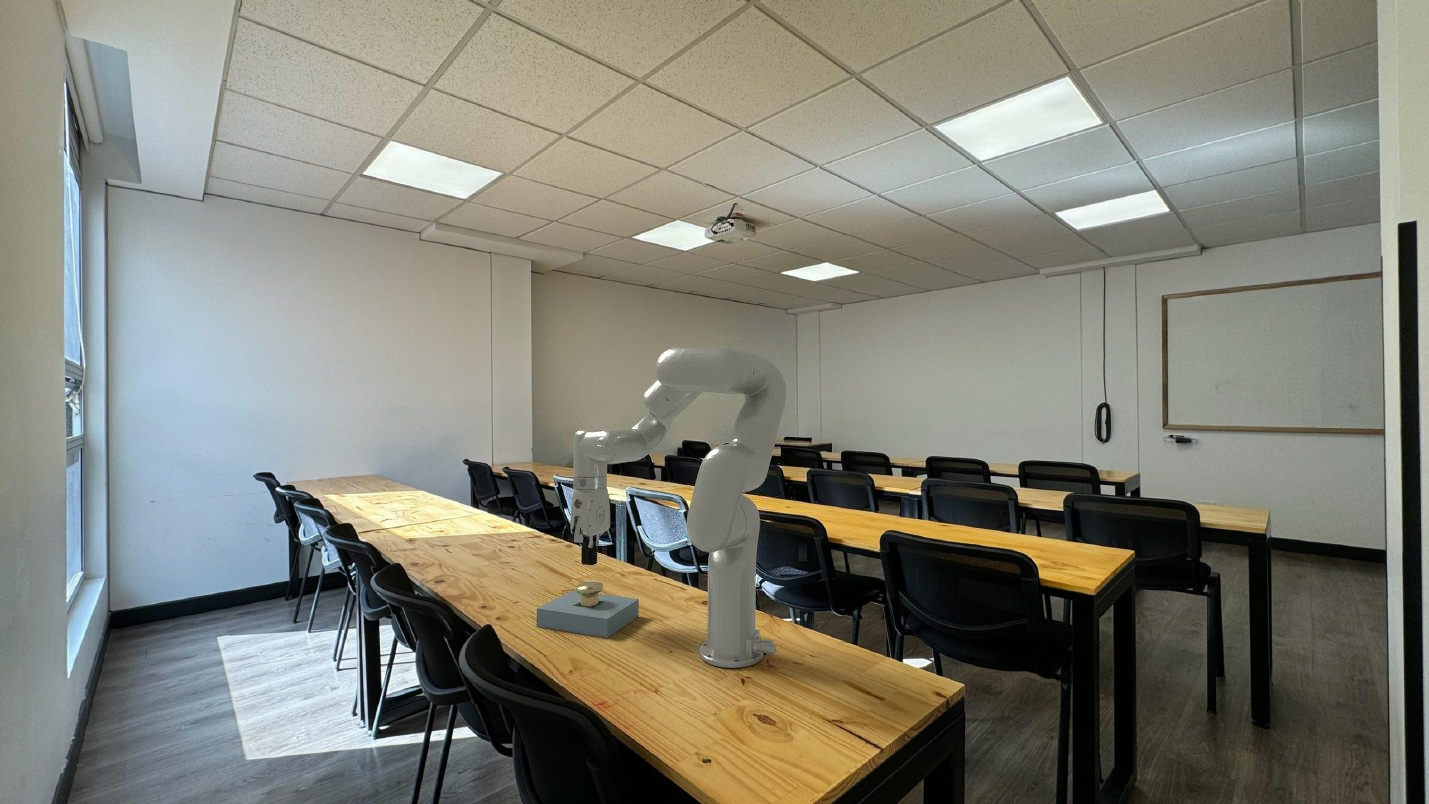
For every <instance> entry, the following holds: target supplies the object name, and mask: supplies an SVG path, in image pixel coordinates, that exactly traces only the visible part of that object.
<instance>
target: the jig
mask: <svg viewBox="0 0 1429 804" xmlns="http://www.w3.org/2000/svg"><path fill="white" fill-rule="evenodd" d="M639 603H640V599H639V598H633V597H628V596H621V595H611V594H604V593H599V605H598V606H596V607H595V608H593V609H592V608H585V607H581V594H580V593H577V592H576V589H575V590H573V589H572V590H570V591H569V592H567V593H564V594H563V595H561V596H559V597H556V598H555V599H552V600H551V601H548V602H547V603H545V604H543V605H540V606H539V607H537V608H536V627H538V628H544V629H550V630H555V631H562V632H567V633H573V634H581V635H585V636H592V637H597V638H598V637H599V638H603V639H604V638H605V639H608V638H609V637H611V636H612V635H614V634H615V633H617V632H618V631H620V630H621V629H622V628H624V627H625V626H628V624H630V623H631V622H633V621H634V620H635V619H637V618H638V617H639V616H640V615H639V613H640V611H639V610H640V609H639Z"/></svg>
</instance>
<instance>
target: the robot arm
mask: <svg viewBox="0 0 1429 804" xmlns="http://www.w3.org/2000/svg"><path fill="white" fill-rule="evenodd" d="M654 371H655V377H656V379H657V380H655V381H654V383H652V384H651V385H650V386H649V387H648V388H647V389H646V390H645V391H644V393H643V397H642V401H643V404H644V406H645V408H646V410H647V413H646V414H645V415H644V416H643V417H642V419H640V421H638V422H637V423H636V424H635V425H634V426H632V427H631V428H618V429H606V430H603V429H579V430H577V431H576V432H575V433H574V434H573V435H574V436H573V478H572V481H573V482H572V488H573V489H572V490H573V494H572V498H571V506H570V520H569V521H570V525H569V526H570V533H571V535H573V542H574V543H579V547H580V548H581V554H580V555H581V559H580V561H581V562H580V563H581V564H582V565H585V566H594V565H596V564H598V546H599V544H600V537H601V536H602V535H604V534H605V532H607V531H608V530H609V529H610V528H611V505H610V496H609V492H608V491H609V490H608V485H607V483H608V465H615V464H616V465H617V464H621V463H628V462H629V463H630V462H637V461H640V460H641V459H643V458H645V457H646V456H648V455H649V454H650V453H652V452H653V450H654V449H656V448H657V447H658V446H659V445H660V444H661V443H662V442H663V441H664V440H665V439H666V437H667V435H668V433H669V431H670V430H671V428H672V424H673V421H674V420H675V419H676V418H677V417H678V416H679V415H680V414H681V413H683V411H685V409H686V408H687V407H689V406H690V405H691V403H693V402H694V401H695V400H696V399H698V398H699V397H700V396H701V394H703V393H715V394H716V393H717V394H728V395H729V394H730V395H743V396H744V402H743V404H742V406H741V407H740V409H739V411H738V413H737V416H736V418H735V422H734V427H733V431H732V434H731V438H730V440H729V443H728V444H726V443H725V444H720V445H717V446H716V447H713V448H712V449H711V450H709V452H708V453H707V454H706V455H705V457H704V458H703V460H702V462H701V464H700V466H699V470H698V473H697V477H696V480H695V484H694V488H693V493H692V497H691V500H690V504H689V507H688V511H687V517H686V531H687V535H688V536H687V537H688V539H689V541H690V542H691V543H692V545H693V546H694V547H695V548H696V549H698V550H699V551H702V552H705V553H709V555H708V563H707V630H706V631H707V639H706V641H705V642H703V643H702V644H701V645H700V647H699V653H698V654H699V657H700V658H701V660H703V661H704V662H705V663H708V664H709V665H711V666H715V667H720V668H725V669H726V668H728V669H735V668H737V669H739V668H745V667H751V666H753V665H755V664H757V663H759V662H760V661H761V660H762V659H763V658H764V654H766V655H772V656H775V655H776V653H777V644H775V643H774V639H767V638H765V639H764V638H763V637H761V636H760V635H761V633H760V630H759V629H756V604H757V603H756V600H757V599H756V592H757V591H756V587H757V586H756V582H757V580H756V578H757V549H758V543H759V537H760V535H759V533H760V527H761V519H760V512H759V510H758V507H757V505H756V504H755V502H754V501H753V500H752V499H751V498H750V497H748V496H746V495H744V493H747V492H751V491H753V490H755V489H758V488H759V487H761V486H762V485H763V483H764V482H765V480H766V478H767V475H768V471H769V467H770V463H771V460H772V456H773V453H774V448H775V445H776V442H777V437H778V431H779V427H780V424H781V422H782V421H781V420H782V417H783V414H784V410H785V405H786V401H787V387H786V382H785V380H784V379H785V378H784V377H783V375H782V373H781V371H780V370H779V368H778V367H777V366H776V365H775V364H774V363H773V362H772V361H771V360H769V359H768V358H766V357H765V356H763V355H761V354H758V353H755V352H752V351H746V350H741V349H738V348H730V347H707V346H706V347H705V346H704V347H703V346H702V347H700V346H699V347H698V346H697V347H696V346H695V347H693V346H691V347H690V346H674V347H670V348H669V349H666V350H665V351H663V352H662V354H660V356H659V357H658V359H657V361H656V364H655V370H654Z"/></svg>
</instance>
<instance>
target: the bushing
mask: <svg viewBox="0 0 1429 804" xmlns="http://www.w3.org/2000/svg"><path fill="white" fill-rule="evenodd" d="M603 590H604V584H603V583H602V582H599V581H587V582H581V583H579V584H577V585H576V586H575V591H576V592H577V593H580V594H581V607H585V608H592V609H593V608H595V607H596V606H598V605H599V594H600V593H601V592H603Z"/></svg>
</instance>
